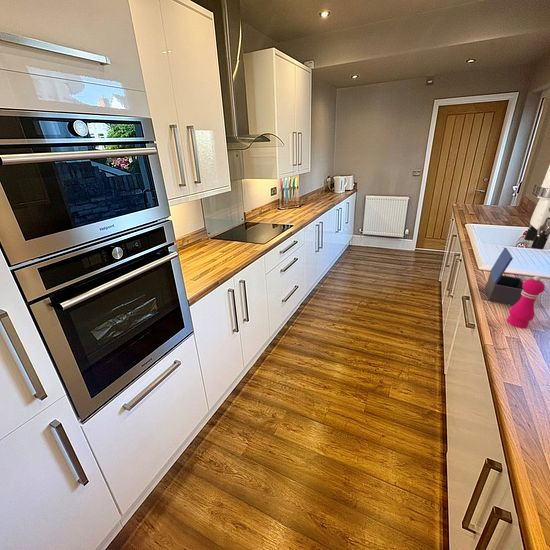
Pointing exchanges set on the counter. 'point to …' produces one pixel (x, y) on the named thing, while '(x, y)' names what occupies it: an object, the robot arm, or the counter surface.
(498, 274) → the lid
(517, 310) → the pepper mill
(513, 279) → the storage box
